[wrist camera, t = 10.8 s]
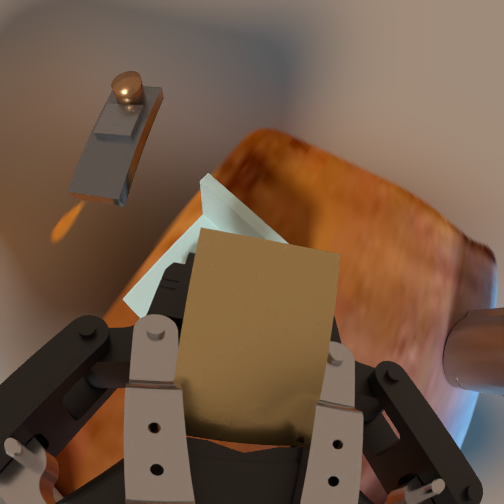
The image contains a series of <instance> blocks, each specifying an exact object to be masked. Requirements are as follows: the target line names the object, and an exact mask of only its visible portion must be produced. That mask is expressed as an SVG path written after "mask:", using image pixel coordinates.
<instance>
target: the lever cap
mask: <svg viewBox="0 0 504 504" xmlns="http://www.w3.org/2000/svg"><path fill="white" fill-rule="evenodd" d="M339 265H340V254H337V253H332V252H327V251H322V250H317V249H312V248H307V247H302V246H297V245H292V244H287V243H281V242H276V241H271V240H266V239H261V238H255V237H250V236H245V235H239V234H234V233H229V232H223V231H218V230H213V229H207V228H202V227H201V229H200V234H199V238H198V243H197V248H196V253H195V258H194V263H193V268H192V273H191V279H190V284H189V289H188V295H187V300H186V306H185V312H184V318H183V324H182V330H181V336H180V342H179V349H178V355H177V362H176V369H175V376H174V383H180V384H181V386H182V397H183V409H184V420H185V430H186V435H187V436H193V437H199V438H205V439H212V440H219V441H227V442H237V443H247V444H260V445H278V446H304V444H303V443H300V442H296V439H297V436H298V434H299V431H300V429H301V426H302V423H303V421H304V418H305V416H306V413H307V410H308V407H309V405H310V402H311V399H313V400H319V401H320V396H321V391H322V386H323V380H324V375H325V369H326V363H327V357H328V351H329V345H330V338H331V332H332V325H333V317H334V310H335V302H336V293H337V284H338V275H339Z"/></svg>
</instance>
